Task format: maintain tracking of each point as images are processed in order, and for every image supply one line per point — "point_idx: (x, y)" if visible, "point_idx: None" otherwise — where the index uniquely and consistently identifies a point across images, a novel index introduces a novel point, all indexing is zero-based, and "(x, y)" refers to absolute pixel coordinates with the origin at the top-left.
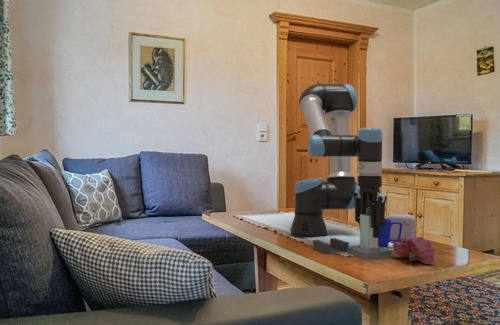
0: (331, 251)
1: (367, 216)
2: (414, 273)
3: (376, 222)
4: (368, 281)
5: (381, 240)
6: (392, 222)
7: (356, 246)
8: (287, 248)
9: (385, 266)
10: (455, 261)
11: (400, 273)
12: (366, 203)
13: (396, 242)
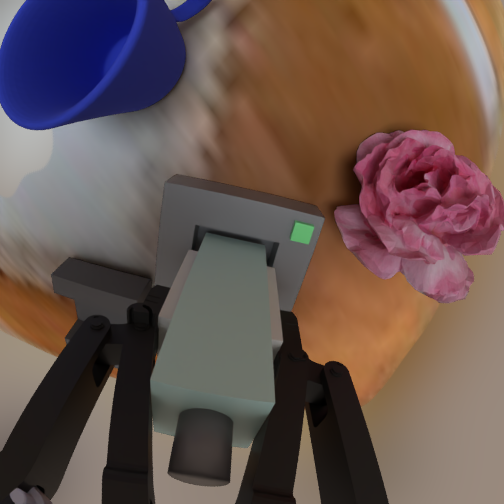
0: (126, 321)
1: (236, 443)
2: (430, 302)
3: (310, 413)
4: (360, 404)
5: (165, 85)
6: None
7: (169, 281)
8: (53, 350)
9: (349, 312)
10: (474, 71)
11: (402, 329)
12: (152, 501)
13: (382, 275)
